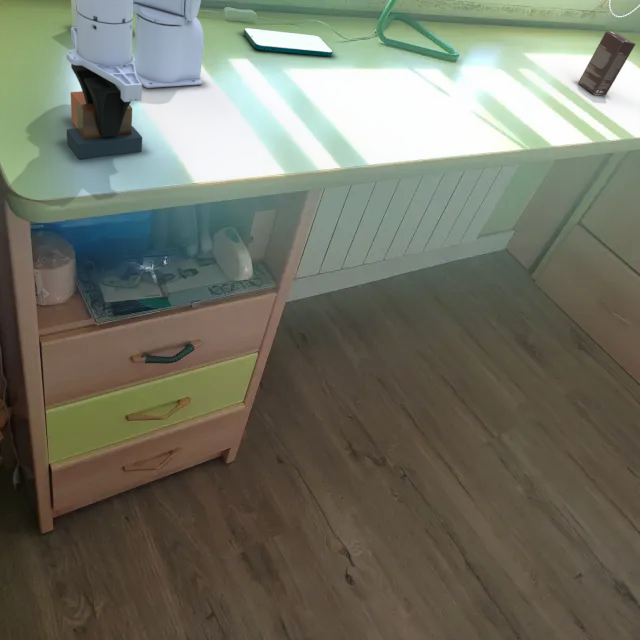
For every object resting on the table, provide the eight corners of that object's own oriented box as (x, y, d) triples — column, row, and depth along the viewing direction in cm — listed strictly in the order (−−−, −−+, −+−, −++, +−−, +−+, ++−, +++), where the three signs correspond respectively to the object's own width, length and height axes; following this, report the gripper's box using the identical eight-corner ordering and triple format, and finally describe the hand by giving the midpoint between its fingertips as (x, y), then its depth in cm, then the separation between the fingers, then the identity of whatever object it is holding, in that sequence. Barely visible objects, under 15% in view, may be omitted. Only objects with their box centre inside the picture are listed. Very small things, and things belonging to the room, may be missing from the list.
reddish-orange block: (102, 118, 80) (101, 89, 77) (114, 134, 78) (115, 104, 75) (71, 121, 78) (70, 91, 75) (83, 137, 76) (83, 107, 73)
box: (606, 96, 140) (637, 43, 132) (592, 94, 138) (622, 41, 130) (590, 84, 144) (619, 32, 136) (576, 82, 142) (604, 30, 134)
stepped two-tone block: (129, 137, 78) (130, 96, 75) (141, 151, 77) (143, 110, 73) (67, 144, 74) (65, 101, 70) (78, 159, 72) (77, 116, 69)
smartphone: (317, 40, 121) (241, 32, 114) (318, 35, 120) (242, 27, 113) (333, 57, 116) (255, 50, 109) (334, 53, 116) (256, 45, 108)
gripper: (41, -15, 66) (48, 103, 75) (95, 43, 59) (97, 165, 68) (104, -13, 70) (104, 99, 79) (162, 41, 63) (155, 157, 72)
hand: (105, 129), depth 74 cm, fingers closed on stepped two-tone block, 2 cm apart
